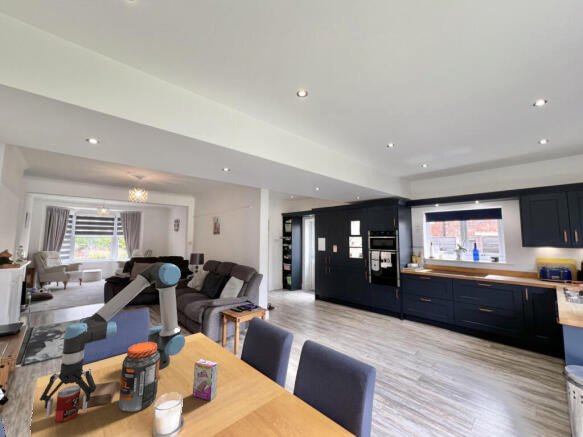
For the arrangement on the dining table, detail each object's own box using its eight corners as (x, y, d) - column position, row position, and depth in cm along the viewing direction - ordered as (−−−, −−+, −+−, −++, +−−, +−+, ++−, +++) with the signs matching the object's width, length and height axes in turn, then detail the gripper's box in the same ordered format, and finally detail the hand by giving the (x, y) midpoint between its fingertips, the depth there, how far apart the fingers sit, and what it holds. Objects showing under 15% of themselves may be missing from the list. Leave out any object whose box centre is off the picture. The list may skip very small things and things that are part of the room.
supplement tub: (117, 399, 120) (122, 344, 122) (153, 389, 129) (157, 337, 132) (119, 419, 107) (124, 357, 110) (159, 405, 117) (163, 348, 119)
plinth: (118, 388, 129) (119, 380, 129) (111, 402, 118) (111, 393, 118) (90, 392, 125) (91, 384, 125) (80, 407, 113) (81, 398, 114)
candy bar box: (191, 396, 124) (194, 362, 126) (198, 391, 129) (200, 358, 130) (210, 402, 120) (212, 367, 122) (216, 396, 125) (218, 362, 127)
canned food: (64, 424, 103) (67, 396, 104) (49, 421, 105) (52, 394, 106) (82, 412, 111) (85, 386, 112) (68, 409, 112) (71, 384, 113)
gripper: (107, 353, 118) (103, 401, 116) (42, 360, 109) (36, 412, 107) (102, 360, 111) (97, 411, 109) (32, 368, 102) (25, 424, 100)
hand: (67, 412), depth 108 cm, fingers open, 12 cm apart
